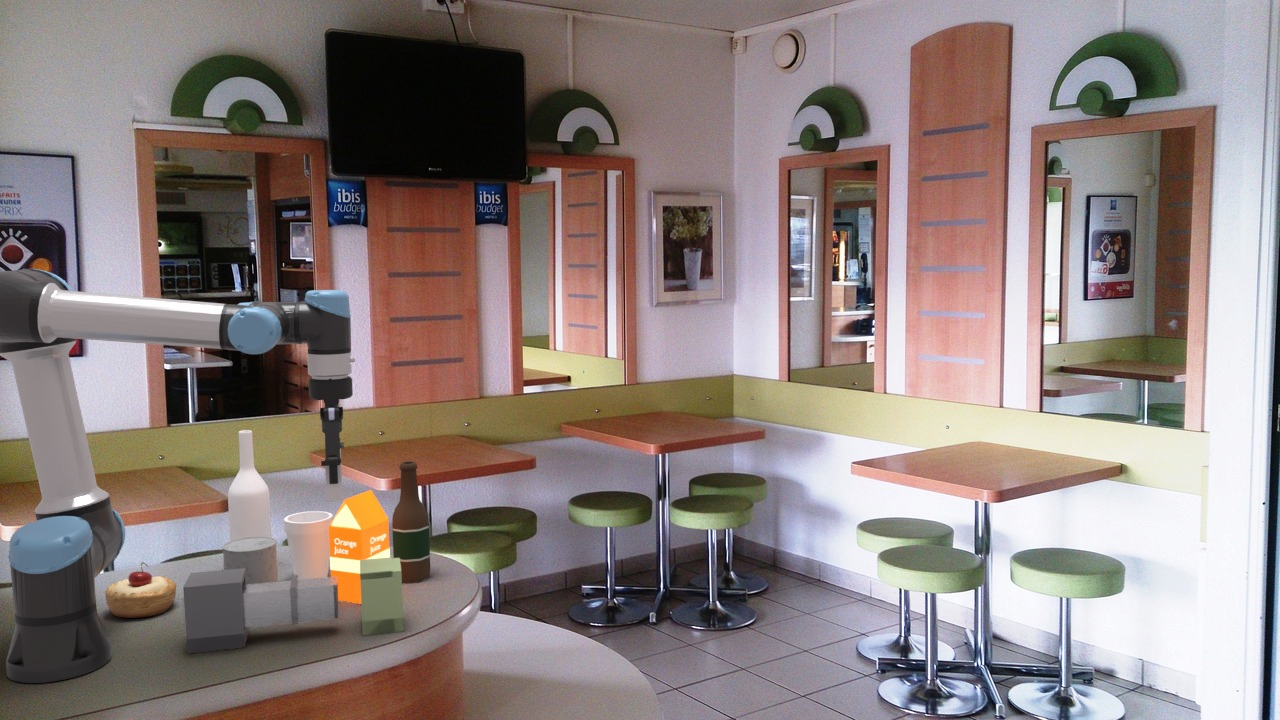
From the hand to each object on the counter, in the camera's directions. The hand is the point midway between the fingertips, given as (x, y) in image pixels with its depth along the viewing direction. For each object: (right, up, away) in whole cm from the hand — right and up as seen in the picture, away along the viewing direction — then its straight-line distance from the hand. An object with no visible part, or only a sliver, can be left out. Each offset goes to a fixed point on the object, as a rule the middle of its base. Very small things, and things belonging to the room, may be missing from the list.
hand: (334, 492), depth 190 cm
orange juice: (+1, -22, +14) cm, 26 cm away
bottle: (-25, -21, +29) cm, 44 cm away
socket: (+9, -24, -2) cm, 25 cm away
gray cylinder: (-18, -23, +8) cm, 30 cm away
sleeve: (-17, -25, -9) cm, 32 cm away
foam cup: (-12, -21, +24) cm, 34 cm away
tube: (-10, -21, -8) cm, 25 cm away
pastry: (-38, -23, +7) cm, 45 cm away
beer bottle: (+9, -21, +24) cm, 33 cm away
